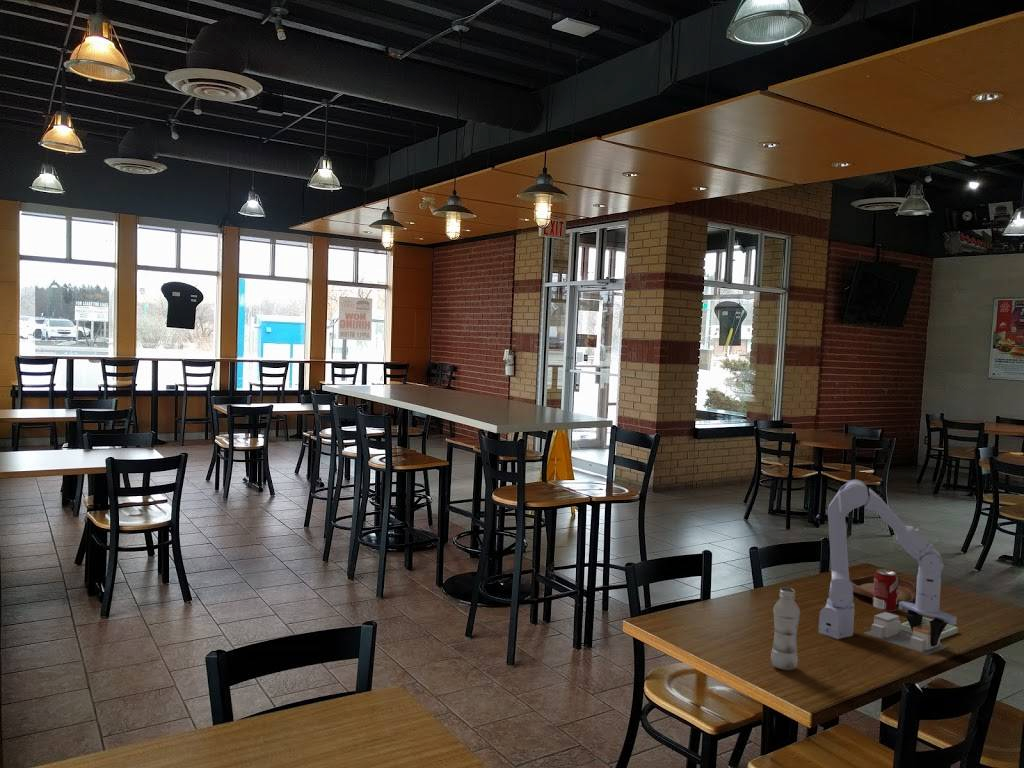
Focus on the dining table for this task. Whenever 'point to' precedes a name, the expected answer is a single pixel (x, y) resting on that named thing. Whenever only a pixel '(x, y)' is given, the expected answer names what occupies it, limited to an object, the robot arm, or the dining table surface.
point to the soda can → (885, 590)
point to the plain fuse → (888, 623)
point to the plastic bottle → (785, 631)
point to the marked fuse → (924, 635)
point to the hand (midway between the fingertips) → (925, 642)
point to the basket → (867, 587)
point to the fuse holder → (904, 639)
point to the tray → (949, 629)
